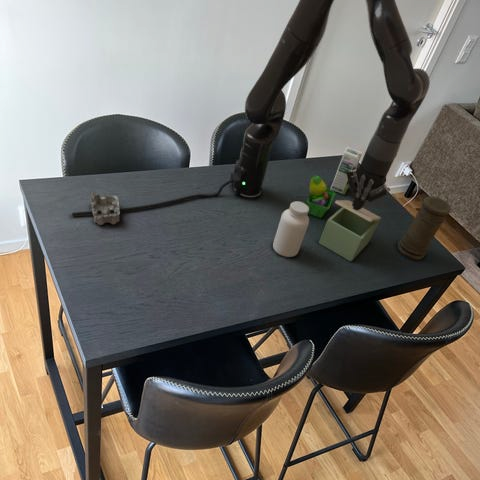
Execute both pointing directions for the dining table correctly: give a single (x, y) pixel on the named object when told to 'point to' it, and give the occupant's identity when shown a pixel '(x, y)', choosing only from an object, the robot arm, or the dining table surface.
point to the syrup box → (345, 170)
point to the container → (424, 227)
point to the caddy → (347, 233)
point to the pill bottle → (291, 229)
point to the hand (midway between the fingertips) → (356, 208)
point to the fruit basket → (319, 197)
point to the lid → (361, 212)
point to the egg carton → (105, 209)
